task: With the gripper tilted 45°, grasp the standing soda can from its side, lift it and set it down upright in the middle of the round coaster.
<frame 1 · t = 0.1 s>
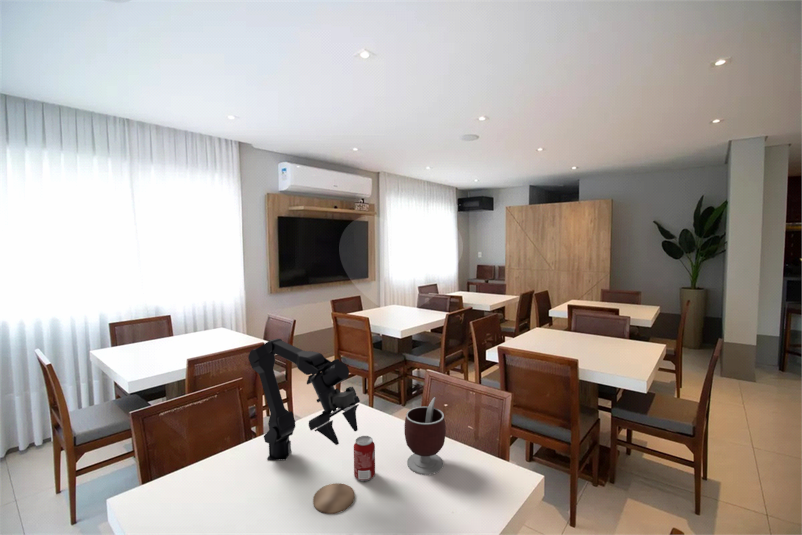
hand: (347, 437, 115), 15 cm above the table, tool tilted 35°, fingers open, 9 cm apart
coaster: (334, 499, 108), on the table
mate gourd: (426, 463, 126), on the table
soda can: (364, 476, 119), on the table
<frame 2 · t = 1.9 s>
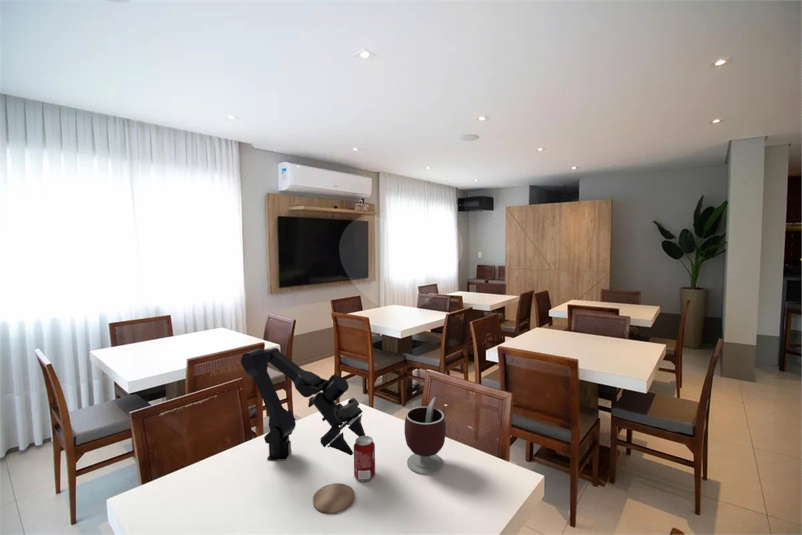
hand: (359, 446, 119), 9 cm above the table, tool tilted 45°, fingers open, 9 cm apart
nothing on the table moved.
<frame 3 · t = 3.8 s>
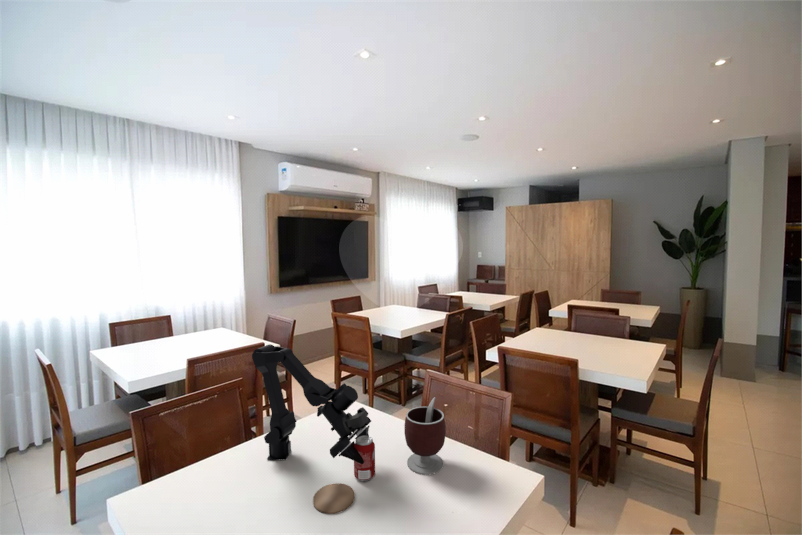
hand: (368, 457, 118), 7 cm above the table, tool tilted 45°, fingers closed on soda can, 7 cm apart
soda can: (364, 476, 119), on the table, touching gripper
everything else where it was.
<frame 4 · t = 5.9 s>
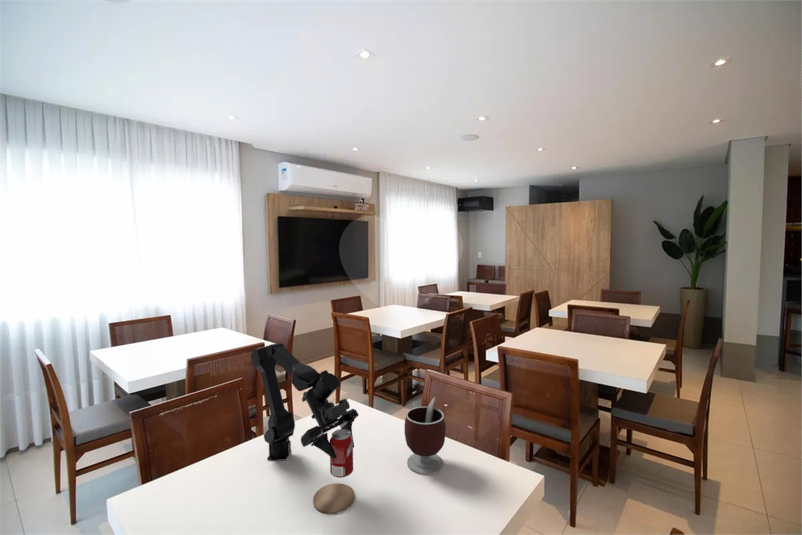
hand: (344, 452, 109), 13 cm above the table, tool tilted 45°, fingers closed on soda can, 7 cm apart
soda can: (341, 473, 110), point 6 cm above the table, touching gripper
everything else where it was.
when the fingers open (9 cm above the table, at t = 8.2 s): soda can drops 1 cm, resting on coaster.
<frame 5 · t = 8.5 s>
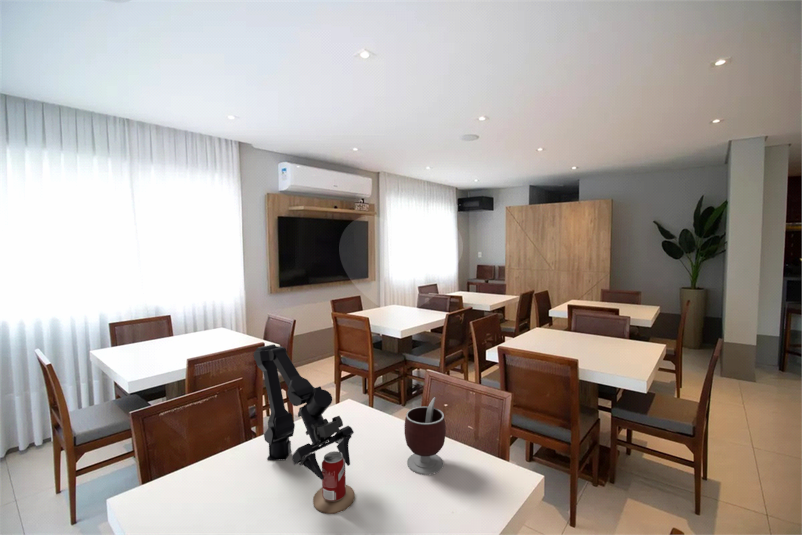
hand: (336, 471, 107), 9 cm above the table, tool tilted 45°, fingers open, 9 cm apart
soda can: (334, 496, 108), point 1 cm above the table, touching coaster
everything else where it was.
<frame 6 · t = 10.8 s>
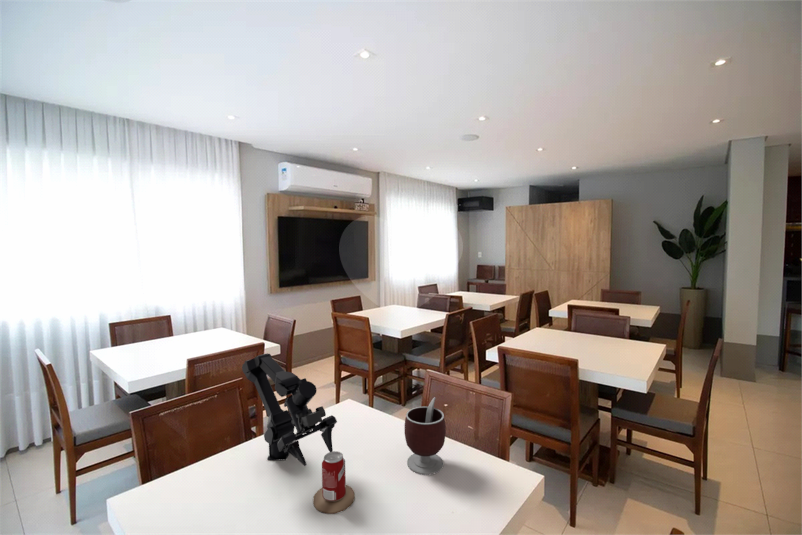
hand: (319, 458, 113), 9 cm above the table, tool tilted 45°, fingers open, 9 cm apart
nothing on the table moved.
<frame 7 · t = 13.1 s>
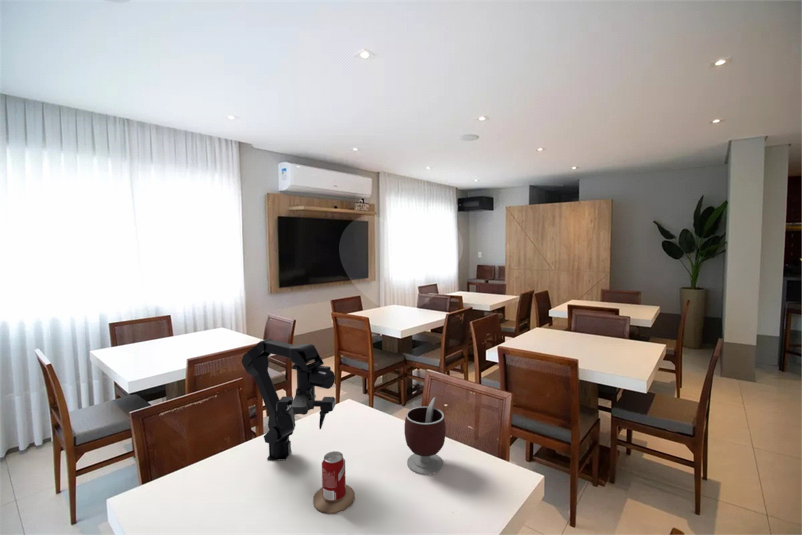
hand: (306, 428, 124), 13 cm above the table, tool pointing down, fingers open, 9 cm apart
nothing on the table moved.
at the end: soda can inside the target area on the coaster (0.2 cm from its centre), point 0.6 cm above the coaster's base; soda can tilted 0°; the gripper is holding nothing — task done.
